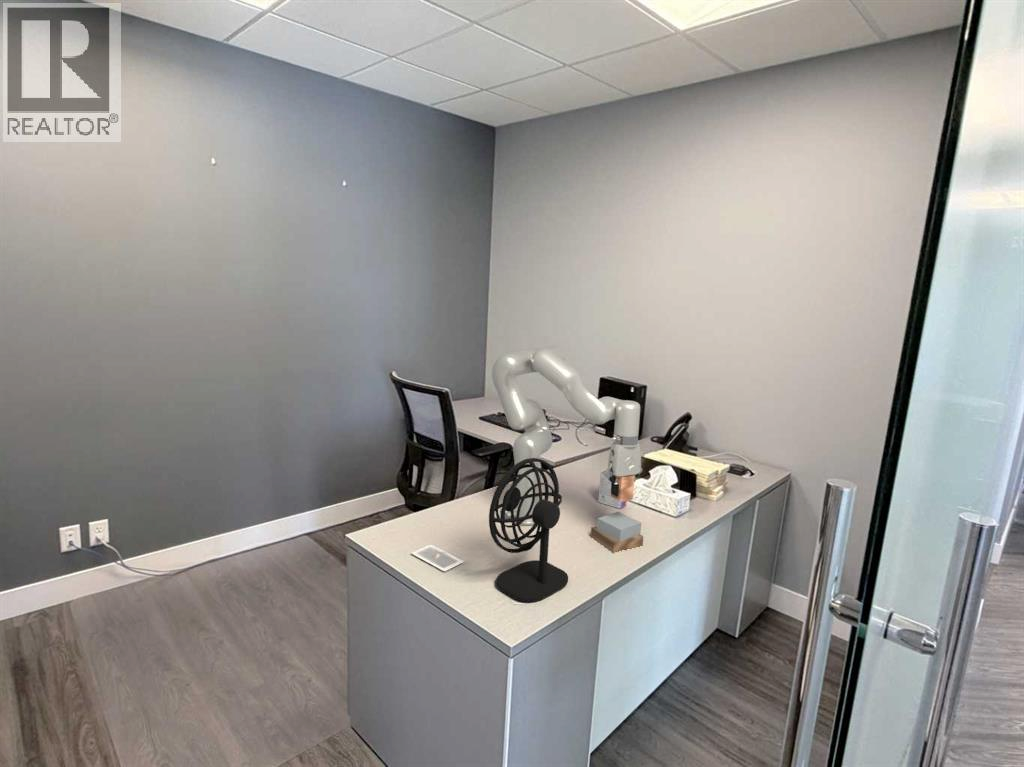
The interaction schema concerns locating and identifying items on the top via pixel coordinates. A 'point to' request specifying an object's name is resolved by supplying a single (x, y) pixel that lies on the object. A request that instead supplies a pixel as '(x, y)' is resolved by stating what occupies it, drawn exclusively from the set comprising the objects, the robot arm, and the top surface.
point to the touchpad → (437, 557)
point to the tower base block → (614, 544)
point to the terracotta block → (625, 488)
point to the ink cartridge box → (608, 493)
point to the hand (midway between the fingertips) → (621, 493)
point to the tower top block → (619, 526)
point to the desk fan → (528, 533)
